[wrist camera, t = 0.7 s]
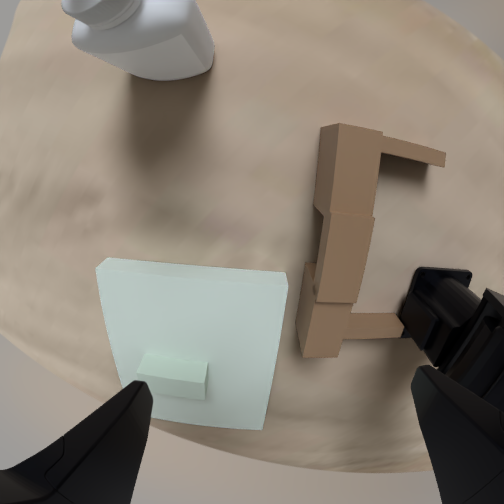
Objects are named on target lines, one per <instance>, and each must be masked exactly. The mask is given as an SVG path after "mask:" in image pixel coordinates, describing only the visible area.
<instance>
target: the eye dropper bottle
mask: <svg viewBox="0 0 504 504" xmlns="http://www.w3.org/2000/svg"><path fill="white" fill-rule="evenodd" d="M61 4H62V9H63V11H64V12H65V13H66V14H68V15H70V16H72V17H73V18H75V19H76V20H75V23H74V26H73V31H72V43H73V44H74V45H75V46H76V47H77V48H78V49H80V50H82V51H84V52H86V53H88V54H90V55H92V56H95V57H97V58H99V59H101V60H103V61H105V62H108V63H110V64H112V65H114V66H116V67H118V68H120V69H122V70H124V71H126V72H128V73H130V74H133V75H135V76H138V77H141V78H145V79H150V80H160V81H169V80H179V79H184V78H189V77H192V76H196V75H199V74H201V73H204V72H206V71H207V70H209V69H210V68H211V66H212V62H213V56H214V48H215V45H214V41H213V39H212V36H211V34H210V31H209V29H208V27H207V24H206V22H205V20H204V18H203V15H202V13H201V11H200V9H199V6H198V4H197V3H196V1H195V0H62V3H61Z"/></svg>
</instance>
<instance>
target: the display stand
mask: <svg viewBox="0 0 504 504" xmlns="http://www.w3.org/2000/svg"><path fill="white" fill-rule="evenodd" d="M95 269H96V276H97V282H98V288H99V294H100V299H101V305H102V310H103V315H104V319H105V324H106V328H107V333H108V337H109V341H110V345H111V349H112V353H113V356H114V360H115V364H116V367H117V371H118V374H119V377H120V381H121V384H122V387H123V388H125V387H126V386H127V385H128V384H130V383H131V382H132V381H134V380H140V381H145V382H146V383H147V384H148V387H149V389H150V392H151V394H152V396H153V407H152V413H151V418H156V419H162V420H167V421H173V422H180V423H186V424H194V425H201V426H210V427H220V428H232V429H248V430H262V429H263V425H264V420H265V415H266V410H267V405H268V400H269V395H270V390H271V385H272V380H273V374H274V369H275V363H276V358H277V352H278V347H279V341H280V335H281V329H282V323H283V317H284V311H285V305H286V298H287V292H288V282H287V278H286V273H285V272H273V271H259V270H246V269H233V268H221V267H208V266H196V265H185V264H173V263H162V262H151V261H140V260H130V259H119V258H109V257H107V258H106V259H105V260H104V261H103V262H102V263H101V264H100V265H99V266H97V267H96V268H95Z"/></svg>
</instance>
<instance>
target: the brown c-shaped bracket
mask: <svg viewBox="0 0 504 504" xmlns="http://www.w3.org/2000/svg"><path fill="white" fill-rule="evenodd" d="M381 153H382V154H387V155H392V156H396V157H401V158H405V159H410V160H414V161H418V162H422V163H426V164H430V165H435V166H439V167H444V166H445V158H446V153H445V152H442V151H438V150H435V149H432V148H428V147H425V146H421V145H418V144H414V143H410V142H407V141H403V140H399V139H395V138H390V137H386V136H383V132H381V131H376V130H372V129H367V128H362V127H357V126H352V125H347V124H341V123H338V124H333V125H329V126H325V127H321V133H320V145H319V155H318V166H317V175H316V184H315V193H314V202H313V205H314V206H315V207H316V208H317V209H318V210H319V211H320V212H321V214H322V215H323V216H324V219H323V226H322V233H321V240H320V246H319V252H318V259H317V263H307V262H305V268H304V274H303V281H302V287H301V293H300V299H299V305H298V311H297V317H296V322H295V324H296V328H297V333H298V338H299V343H300V348H301V353H302V358H331V357H338V354H339V351H340V348H341V344H342V341H343V339H374V338H395V337H401V334H402V332H403V329H404V326H403V324H402V323H401V321H400V320H399V319H398V317H397V316H396V314H395V313H351V310H352V306H353V303H356V302H357V298H358V294H359V290H360V286H361V282H362V278H363V274H364V270H365V265H366V261H367V256H368V251H369V247H370V242H371V237H372V231H373V226H374V221H375V218H374V217H373V216H372V214H373V208H374V201H375V195H376V188H377V181H378V173H379V165H380V156H381Z"/></svg>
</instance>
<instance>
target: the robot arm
mask: <svg viewBox="0 0 504 504" xmlns="http://www.w3.org/2000/svg"><path fill="white" fill-rule="evenodd" d="M422 272H423V273H422ZM421 273H422V275H420V274H421ZM471 278H472V273H471V272H470V271H469V270H461V269H447V268H434V267H419V268H418V269H417V270H416V272H415V276H414V279H413V282H412V285H411V289H410V292H409V294H408V297H407V300H406V303H405V306H404V309H403V311H402V314H401V317H400V321H401V323H402V324H403V326H404V329H403V332H402V334H401V337H398V338H412V339H413V340H414V342H415V343H416V345H417V346H418V348H419V349H420V350H421V351H424V352H425V354H426V355H427V357H428V358H429V360H430V361H431V363H432V364H433V366H434V367H439V368H438V369H435V368H433V367H432V366H430V365H423V366H419V367H418V368H417V370H416V372H415V375H414V377H413V380H412V383H411V391H412V395H413V399H414V403H415V408H416V412H417V417H418V421H419V425H420V428H421V431H422V434H423V437H424V440H425V443H426V447H427V450H428V453H429V456H430V460H431V463H432V466H433V470H434V473H435V477H436V481H437V484H438V488H439V492H440V496H441V500H442V504H504V296H503V295H501V294H499V293H497V292H495V291H492V290H490V289H488V288H486V290H485V292H484V293H483V298H482V300H481V299H480V298H479V297H478V296H476V295H475V294H474V293H473V292H472V291H471V290H469V289H468V287H469V284H470V281H471ZM152 407H153V396H152V394H151V392H150V389H149V387H148V384H147V383H146V382H145V381H140V380H134V381H132V382H131V383H130V384H128V385H127V386H126V387H125V388H123V389H122V390H121V391H120V392H118V393H117V394H116V395H115V396H113V397H112V398H111V399H109V400H108V401H107V402H106V403H104V404H103V405H102V406H101V407H99V408H98V409H97V410H95V411H94V412H93V413H92V414H91V415H89V416H88V417H87V418H85V419H84V420H82V421H81V422H80V423H79V424H77V425H76V426H75V427H74V428H72V429H71V430H70V431H68V432H67V433H66V434H64V436H62V437H60V438H59V439H58V440H56V441H55V442H53V443H52V444H51V445H49V446H48V447H46V448H45V449H43V450H42V451H40V452H38V453H37V454H35V455H33V456H32V457H30V458H28V459H26V460H24V461H23V462H21V463H19V464H17V465H16V466H14V467H12V468H9V469H5V470H0V504H130V502H131V498H132V494H133V490H134V486H135V483H136V479H137V475H138V471H139V468H140V464H141V460H142V457H143V453H144V450H145V446H146V442H147V438H148V431H149V425H150V419H151V413H152Z"/></svg>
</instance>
